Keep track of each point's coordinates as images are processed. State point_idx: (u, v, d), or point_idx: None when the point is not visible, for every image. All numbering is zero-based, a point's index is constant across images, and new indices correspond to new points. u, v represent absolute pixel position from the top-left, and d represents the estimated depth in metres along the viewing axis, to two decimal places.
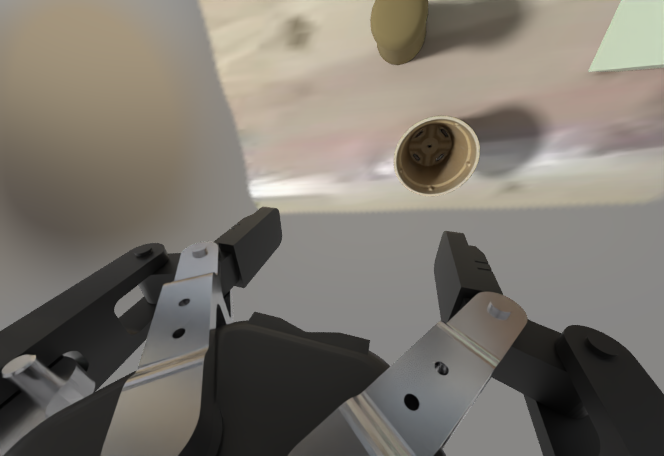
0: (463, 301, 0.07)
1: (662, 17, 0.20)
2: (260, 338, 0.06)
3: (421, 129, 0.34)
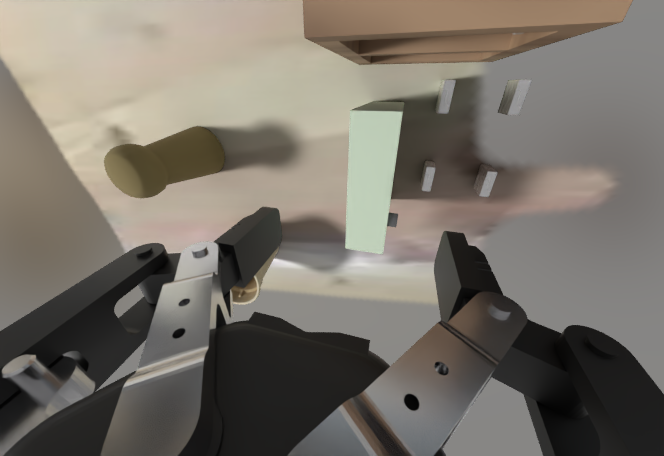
0: (463, 301, 0.07)
1: None
2: (260, 338, 0.06)
3: None
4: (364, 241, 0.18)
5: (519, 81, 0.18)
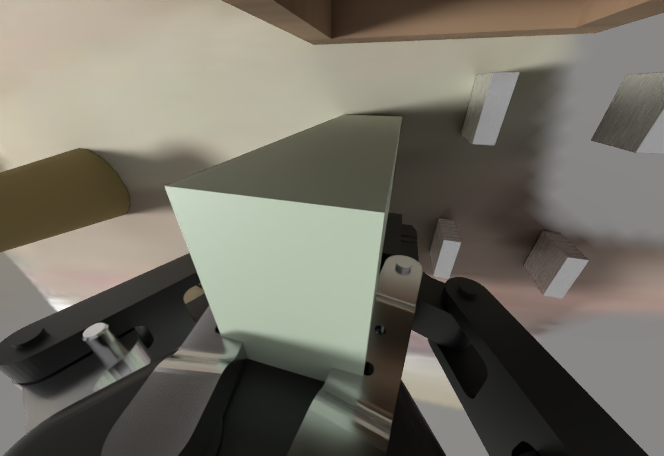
0: None
1: None
2: None
3: None
4: None
5: None
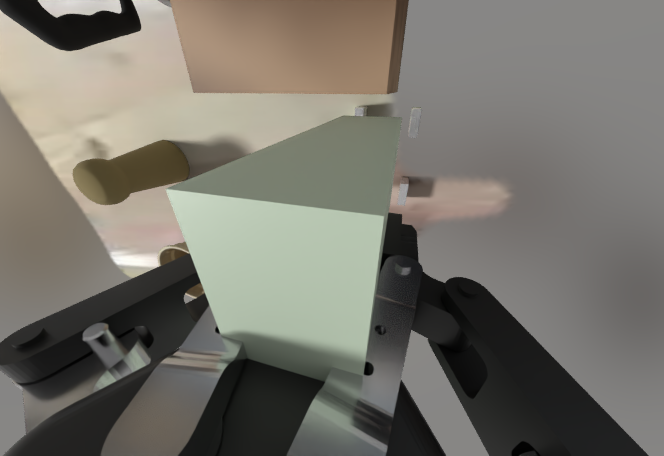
0: None
1: None
2: None
3: None
4: None
5: (412, 110, 0.21)
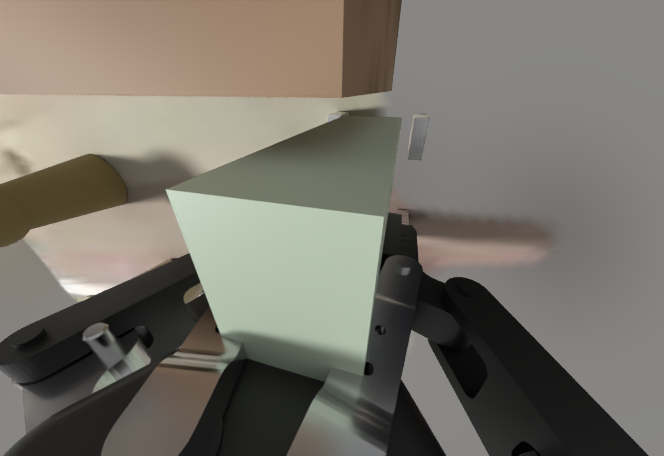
0: None
1: None
2: None
3: None
4: None
5: (415, 119, 0.14)
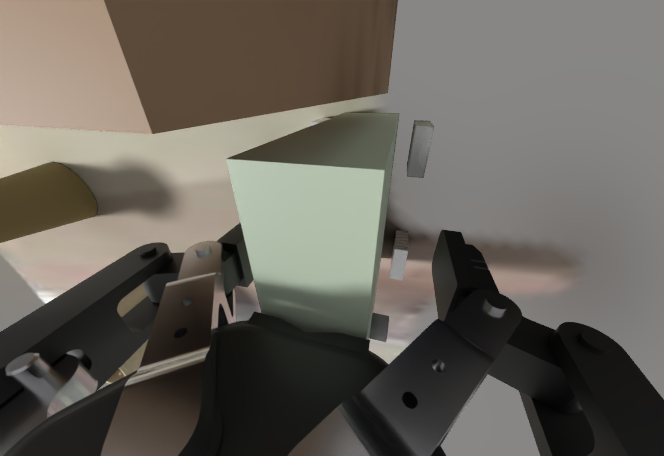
0: (459, 299, 0.07)
1: None
2: (260, 338, 0.06)
3: None
4: None
5: (416, 128, 0.11)
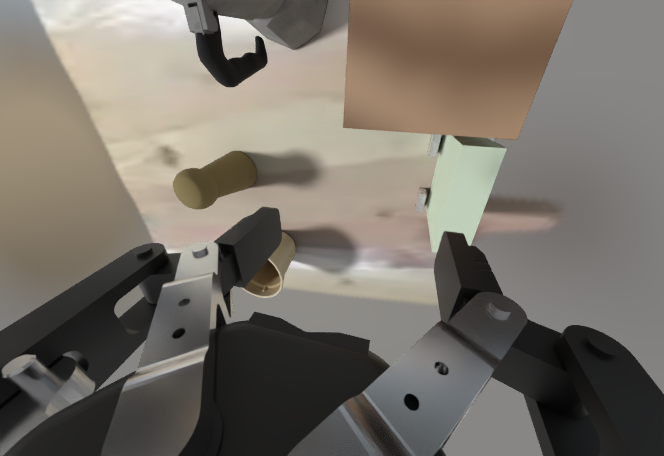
0: (463, 301, 0.07)
1: (436, 203, 0.25)
2: (260, 338, 0.06)
3: None
4: None
5: None
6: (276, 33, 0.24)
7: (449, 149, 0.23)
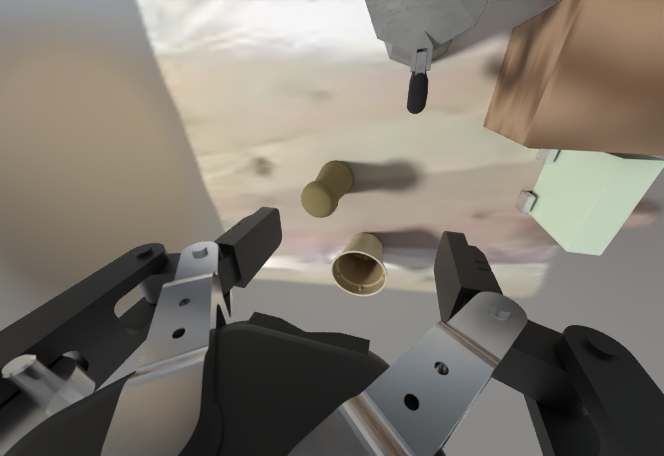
0: (463, 301, 0.07)
1: (560, 206, 0.27)
2: (260, 338, 0.06)
3: None
4: (588, 246, 0.25)
5: None
6: None
7: (581, 158, 0.25)
